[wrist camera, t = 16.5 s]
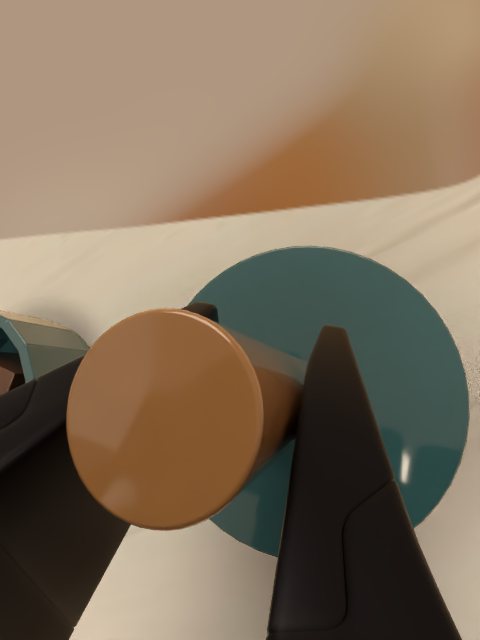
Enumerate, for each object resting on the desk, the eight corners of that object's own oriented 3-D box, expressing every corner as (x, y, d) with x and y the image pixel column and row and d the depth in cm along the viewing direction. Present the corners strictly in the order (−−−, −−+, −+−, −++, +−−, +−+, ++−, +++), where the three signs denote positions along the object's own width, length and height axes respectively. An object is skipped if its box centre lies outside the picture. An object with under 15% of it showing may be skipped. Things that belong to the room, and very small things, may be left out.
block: (44, 437, 24) (-14, 447, 20) (-3, 412, 25) (-66, 417, 22) (68, 375, 24) (14, 373, 21) (20, 353, 26) (-39, 348, 22)
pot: (29, 502, 24) (-57, 533, 19) (-41, 392, 27) (-131, 394, 22) (129, 395, 24) (66, 399, 19) (46, 293, 26) (-27, 272, 21)
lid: (306, 616, 13) (122, 1425, 3) (123, 393, 16) (-273, 405, 6) (536, 394, 12) (1400, 441, 2) (296, 203, 15) (173, -149, 5)
